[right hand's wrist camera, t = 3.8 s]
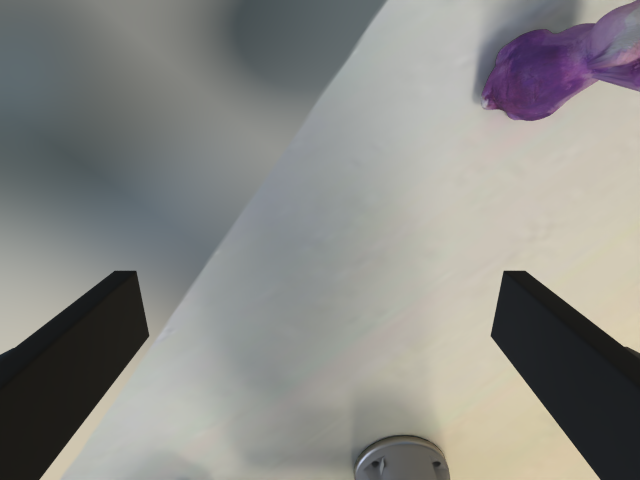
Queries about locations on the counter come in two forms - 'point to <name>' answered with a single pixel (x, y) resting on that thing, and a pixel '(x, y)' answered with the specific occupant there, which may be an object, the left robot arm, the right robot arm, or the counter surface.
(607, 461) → the right robot arm
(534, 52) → the figurine
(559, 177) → the counter surface
